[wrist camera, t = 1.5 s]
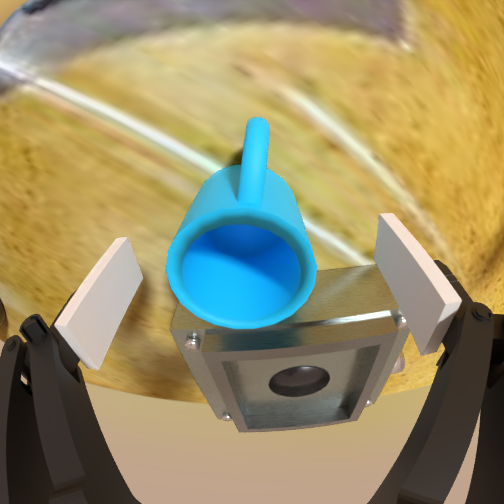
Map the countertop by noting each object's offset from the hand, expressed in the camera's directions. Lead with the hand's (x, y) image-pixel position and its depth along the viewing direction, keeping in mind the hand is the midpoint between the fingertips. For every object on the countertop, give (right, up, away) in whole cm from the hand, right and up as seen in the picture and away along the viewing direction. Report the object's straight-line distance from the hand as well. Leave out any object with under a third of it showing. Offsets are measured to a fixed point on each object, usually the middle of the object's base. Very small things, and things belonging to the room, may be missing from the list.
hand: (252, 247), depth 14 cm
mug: (0, +4, +7) cm, 8 cm away
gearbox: (+6, -10, +16) cm, 19 cm away
